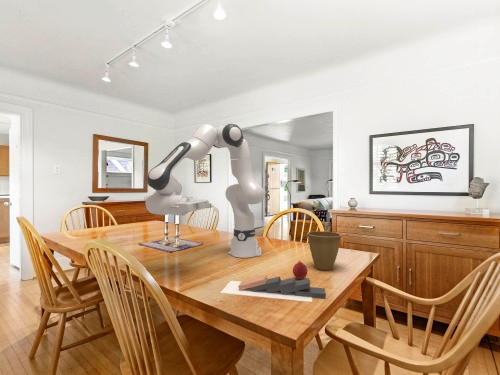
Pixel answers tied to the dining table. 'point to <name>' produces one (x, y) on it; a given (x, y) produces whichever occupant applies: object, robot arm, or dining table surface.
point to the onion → (300, 270)
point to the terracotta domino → (253, 282)
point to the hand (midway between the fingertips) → (210, 205)
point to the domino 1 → (268, 284)
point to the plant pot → (324, 248)
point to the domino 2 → (283, 285)
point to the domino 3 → (298, 286)
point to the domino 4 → (311, 292)
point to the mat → (262, 292)
